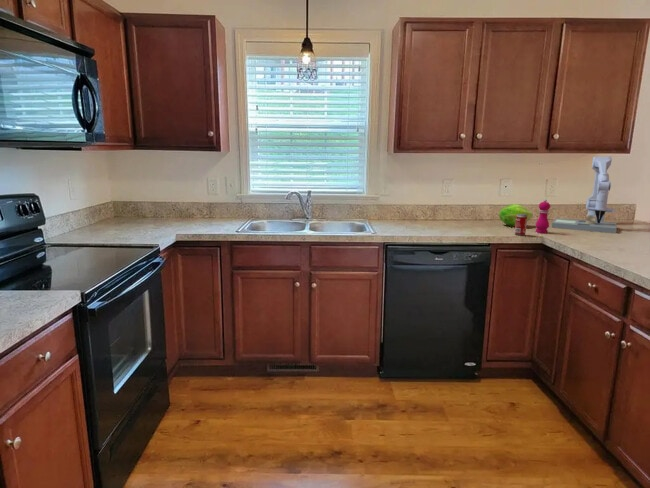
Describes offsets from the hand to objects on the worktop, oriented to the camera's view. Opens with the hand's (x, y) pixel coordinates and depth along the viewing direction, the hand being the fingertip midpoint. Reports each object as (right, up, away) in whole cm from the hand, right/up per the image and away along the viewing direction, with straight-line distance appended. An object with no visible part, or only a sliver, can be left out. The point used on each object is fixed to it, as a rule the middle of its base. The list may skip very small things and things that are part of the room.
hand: (598, 222), depth 266 cm
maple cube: (-4, 0, +2) cm, 4 cm away
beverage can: (-58, -8, -18) cm, 61 cm away
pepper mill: (-41, -7, -11) cm, 43 cm away
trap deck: (-5, -3, +4) cm, 8 cm away
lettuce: (-48, -2, +10) cm, 49 cm away
